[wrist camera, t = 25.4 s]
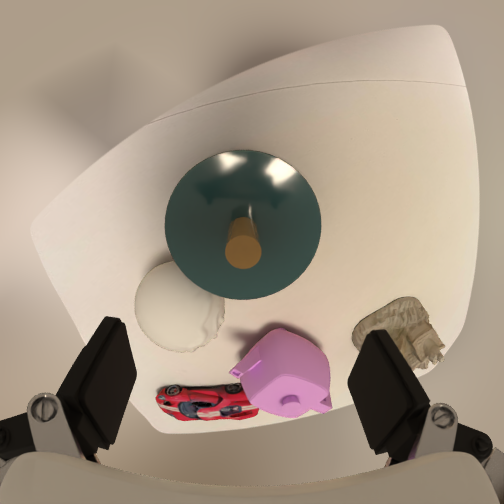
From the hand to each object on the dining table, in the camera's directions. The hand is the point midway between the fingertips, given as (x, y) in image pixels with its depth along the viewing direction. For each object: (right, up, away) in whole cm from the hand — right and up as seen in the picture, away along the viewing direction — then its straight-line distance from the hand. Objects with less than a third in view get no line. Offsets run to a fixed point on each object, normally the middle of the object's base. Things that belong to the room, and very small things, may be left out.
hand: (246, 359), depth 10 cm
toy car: (-9, -26, +41) cm, 50 cm away
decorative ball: (-10, -1, +31) cm, 32 cm away
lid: (-1, +6, +15) cm, 16 cm away
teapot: (+5, -13, +36) cm, 39 cm away
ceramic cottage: (+27, -11, +36) cm, 47 cm away
